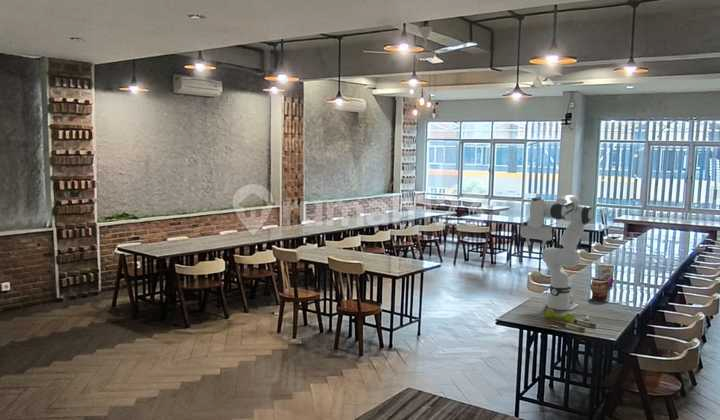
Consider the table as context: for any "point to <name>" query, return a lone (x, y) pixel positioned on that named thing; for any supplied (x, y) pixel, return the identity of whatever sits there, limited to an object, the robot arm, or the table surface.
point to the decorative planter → (599, 289)
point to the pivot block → (586, 319)
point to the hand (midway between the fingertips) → (535, 246)
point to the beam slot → (571, 324)
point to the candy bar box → (606, 273)
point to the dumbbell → (560, 316)
